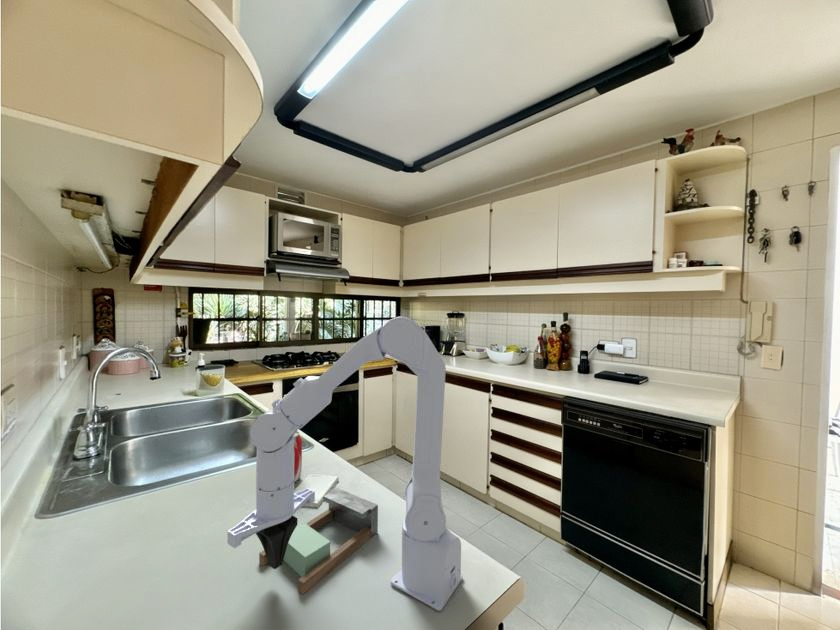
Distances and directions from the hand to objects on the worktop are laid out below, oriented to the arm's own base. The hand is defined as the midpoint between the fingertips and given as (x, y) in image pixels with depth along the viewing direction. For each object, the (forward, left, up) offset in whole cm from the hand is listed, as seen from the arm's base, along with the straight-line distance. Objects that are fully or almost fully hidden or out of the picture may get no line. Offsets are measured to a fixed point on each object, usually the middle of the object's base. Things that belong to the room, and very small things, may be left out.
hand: (275, 564), depth 56 cm
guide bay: (0, -11, -3) cm, 11 cm away
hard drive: (+17, -22, -4) cm, 28 cm away
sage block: (0, -6, -3) cm, 7 cm away
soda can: (+27, -22, -3) cm, 35 cm away
